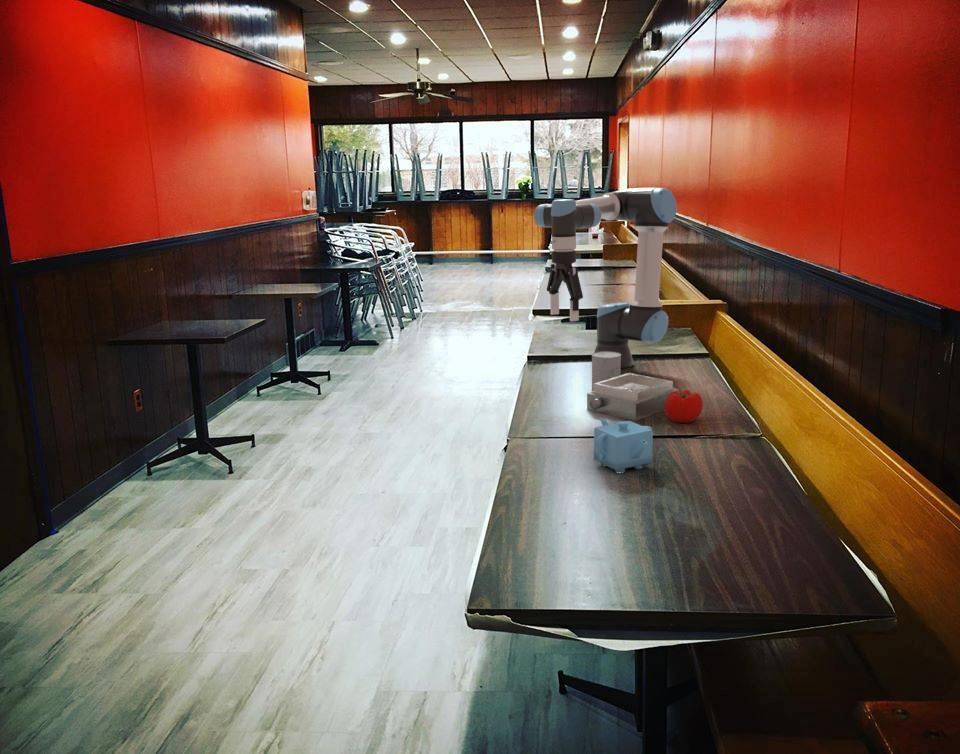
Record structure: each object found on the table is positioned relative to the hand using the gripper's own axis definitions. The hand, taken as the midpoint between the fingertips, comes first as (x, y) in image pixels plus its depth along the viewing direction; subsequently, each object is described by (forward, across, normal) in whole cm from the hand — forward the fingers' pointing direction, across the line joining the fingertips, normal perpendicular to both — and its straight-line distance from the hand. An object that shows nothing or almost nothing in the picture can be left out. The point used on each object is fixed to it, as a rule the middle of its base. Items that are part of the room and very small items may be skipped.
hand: (564, 317), depth 253 cm
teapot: (+26, +63, -16) cm, 70 cm away
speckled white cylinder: (+26, 0, +15) cm, 30 cm away
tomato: (+26, +39, +18) cm, 50 cm away
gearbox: (+26, +21, +11) cm, 35 cm away
